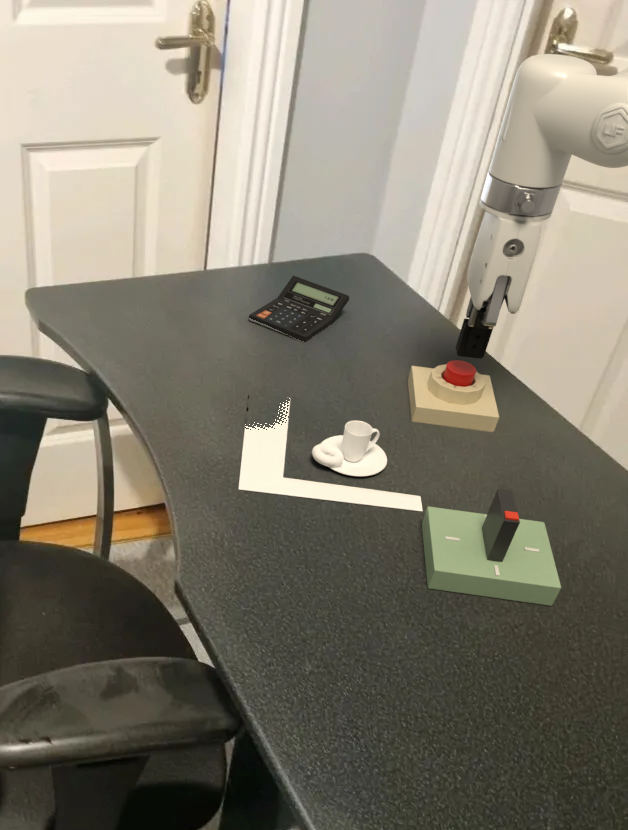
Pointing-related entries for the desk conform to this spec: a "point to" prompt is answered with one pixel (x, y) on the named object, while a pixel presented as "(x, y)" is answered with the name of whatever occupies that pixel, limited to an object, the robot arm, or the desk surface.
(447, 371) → the button
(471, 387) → the button base
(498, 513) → the knob
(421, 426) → the desk surface
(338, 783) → the desk surface
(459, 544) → the panel
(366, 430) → the teacup and saucer
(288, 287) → the calculator
